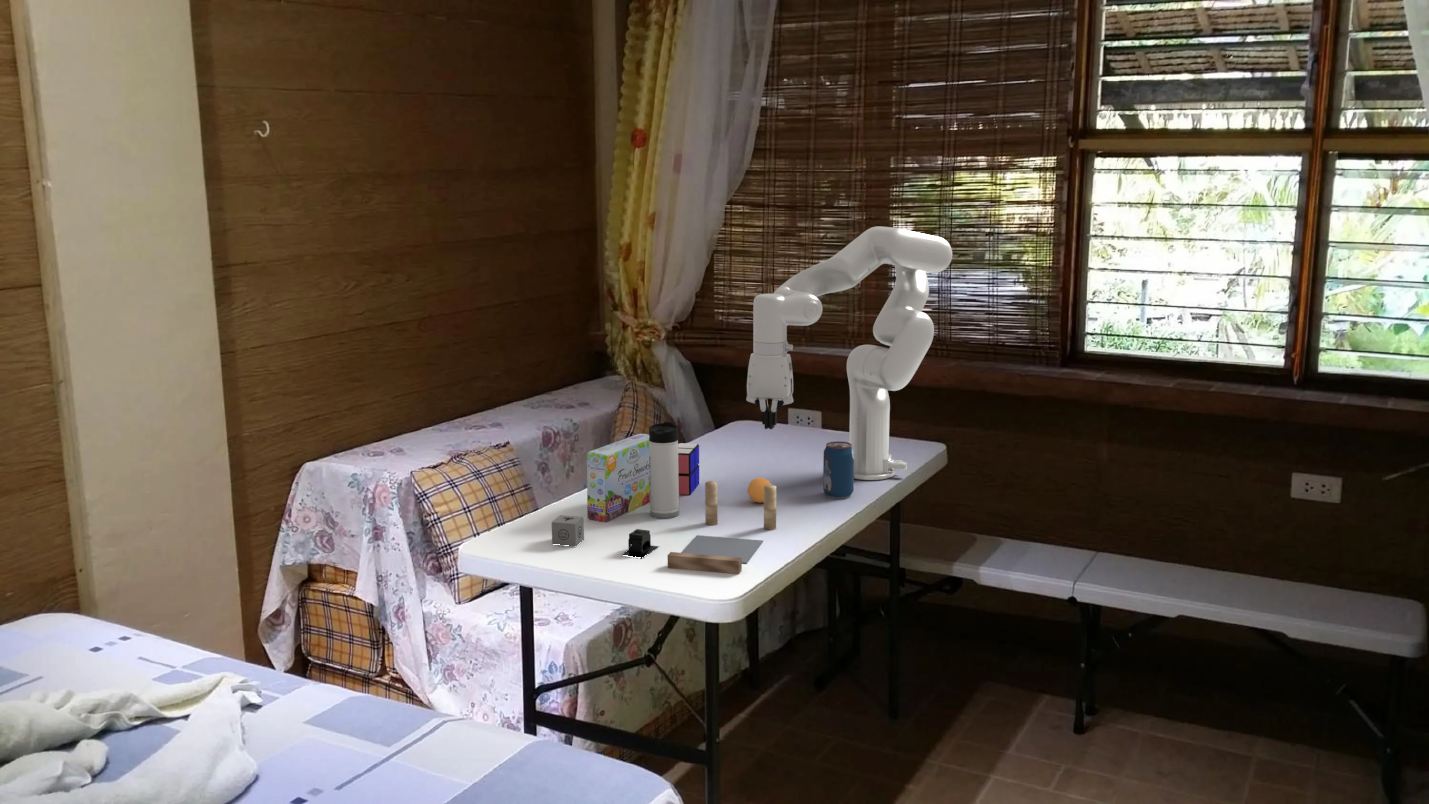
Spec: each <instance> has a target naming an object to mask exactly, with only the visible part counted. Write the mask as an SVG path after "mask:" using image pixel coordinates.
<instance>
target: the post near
mask: <svg viewBox="0 0 1429 804" xmlns="http://www.w3.org/2000/svg"><path fill="white" fill-rule="evenodd" d="M763 529H764V530H766V531H768V530H769V531H773V530H774V531H775V530H776V529H777V485H774V484H771V485H765V486H764V502H763Z"/></svg>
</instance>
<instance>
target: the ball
mask: <svg viewBox="0 0 1429 804" xmlns="http://www.w3.org/2000/svg"><path fill="white" fill-rule="evenodd" d="M765 485H772V483H771V482H770V481H769V480H768V479H766V478H763V477H757V478H753V479H752V480H751V481H750V482H749V483H748V485H747V495H748V497H749V498H750V499H751V501H753V502H754V503H758V504H762V503H763V504H764V486H765Z"/></svg>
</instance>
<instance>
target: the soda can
mask: <svg viewBox="0 0 1429 804" xmlns="http://www.w3.org/2000/svg"><path fill="white" fill-rule="evenodd" d="M825 445H826V446H825V448H824V450H823V462H822V463H823V465H822V466H823V471H822V472H823V473H822V475H823V481H822V491H823V493H824V494H825V496H826V497H827V496H828V497H827V498H830V499H836V498H843V499H848V498H850V497H851V496H852V494H853V493H854V484H855V481H854V480H855V479H854V451H853V449H852V447H851V446H852V444H851V443H849V442H848V441H840V440H839V441H829V442H826V444H825ZM847 497H848V498H847Z"/></svg>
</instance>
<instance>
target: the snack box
mask: <svg viewBox="0 0 1429 804" xmlns="http://www.w3.org/2000/svg"><path fill="white" fill-rule="evenodd" d="M649 437H650V436H649V433H637V434H634V435H632V436H629V437H627V438H623V439H621V440H617V441H614V442H612V443H609V444H607V445H604V446H601V447H599V448H596V449H593V450H589V451H588V452H586V467H587V468H586V474H587V475H586V478H587V479H586V481H587V483H586V484H587V485H586V487H587V488H586V489H587V492H586V494H587V498H586V499H587V501H586V502H587V503H586V504H587V506H586V508H587V513H586V514H587V515H586V516H587V519H588V520H593V519H594V521H597V520H599V521H598V522H602V521H604V522H603V523H607V522H609V521H612V520H614V519H616V518H617V517H620V516H622V514H623V515H624V514H627V513H630V512H631V510H632V511H633V510H636V509H638V508H640V506H641V507H642V506H645V505H647V504H650V475H649ZM615 517H616V518H615Z"/></svg>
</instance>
